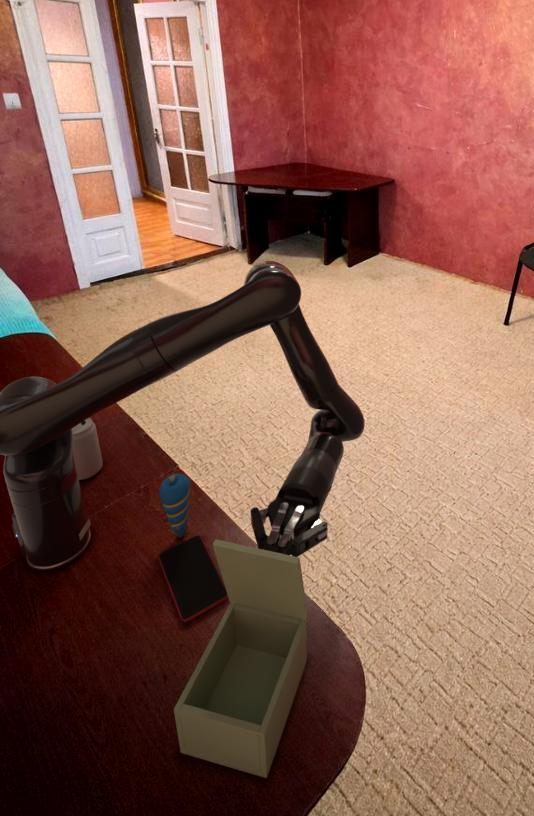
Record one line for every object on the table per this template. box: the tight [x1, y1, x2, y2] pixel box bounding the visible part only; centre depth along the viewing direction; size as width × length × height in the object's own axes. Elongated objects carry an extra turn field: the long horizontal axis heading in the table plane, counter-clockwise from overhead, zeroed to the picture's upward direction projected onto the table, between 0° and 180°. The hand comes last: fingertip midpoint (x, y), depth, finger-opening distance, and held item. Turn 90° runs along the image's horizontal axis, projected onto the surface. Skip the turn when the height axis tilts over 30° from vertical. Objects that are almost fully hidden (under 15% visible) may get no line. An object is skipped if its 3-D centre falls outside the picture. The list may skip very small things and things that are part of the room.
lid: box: [212, 539, 308, 620], centre depth 65 cm, size 14×12×1 cm
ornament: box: [158, 473, 191, 538], centre depth 87 cm, size 5×5×15 cm
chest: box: [173, 602, 308, 779], centre depth 64 cm, size 14×12×9 cm
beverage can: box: [72, 417, 104, 481], centre depth 101 cm, size 6×6×12 cm
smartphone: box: [157, 534, 228, 623], centre depth 82 cm, size 7×1×15 cm
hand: (263, 574), depth 65 cm, fingers closed
